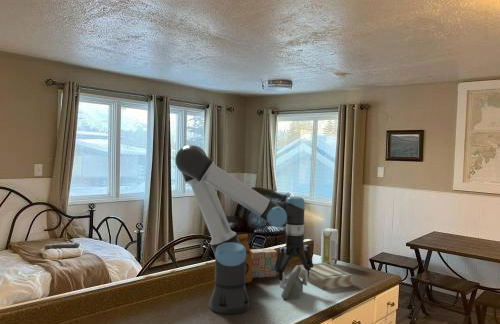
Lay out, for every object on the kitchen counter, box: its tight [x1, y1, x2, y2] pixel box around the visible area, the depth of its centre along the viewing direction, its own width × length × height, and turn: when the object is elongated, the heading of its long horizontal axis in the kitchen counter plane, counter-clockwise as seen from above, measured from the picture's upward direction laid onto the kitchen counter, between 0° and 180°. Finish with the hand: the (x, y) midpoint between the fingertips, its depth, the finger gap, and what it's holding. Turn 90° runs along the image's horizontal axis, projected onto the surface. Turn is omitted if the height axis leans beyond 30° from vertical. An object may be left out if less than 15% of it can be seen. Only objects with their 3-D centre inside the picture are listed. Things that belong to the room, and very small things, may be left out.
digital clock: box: [281, 264, 304, 300], centre depth 169 cm, size 16×9×11 cm, turn 152°
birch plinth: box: [296, 262, 353, 291], centre depth 189 cm, size 16×22×5 cm
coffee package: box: [237, 233, 253, 284], centre depth 182 cm, size 10×12×22 cm
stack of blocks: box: [250, 248, 278, 279], centre depth 194 cm, size 21×6×12 cm, turn 107°
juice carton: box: [320, 227, 339, 267], centre depth 216 cm, size 8×9×19 cm
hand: (293, 286), depth 169 cm, fingers closed on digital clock, 10 cm apart
